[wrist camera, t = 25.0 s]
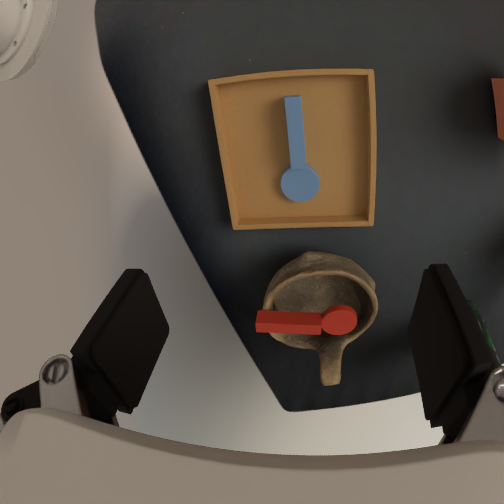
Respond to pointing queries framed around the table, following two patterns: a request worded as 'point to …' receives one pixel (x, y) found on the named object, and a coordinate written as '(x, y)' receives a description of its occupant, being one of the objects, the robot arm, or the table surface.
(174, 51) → the table surface
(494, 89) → the pink cube teapot
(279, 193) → the tray
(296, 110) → the blue paddle
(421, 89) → the table surface
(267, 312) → the red spoon
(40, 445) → the robot arm
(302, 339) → the bowl
